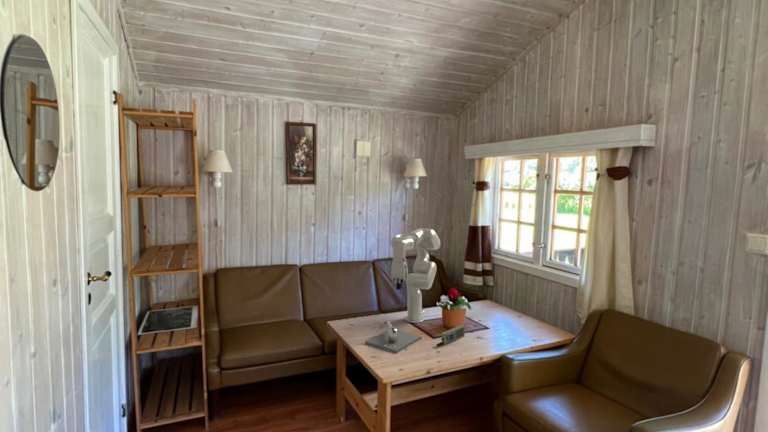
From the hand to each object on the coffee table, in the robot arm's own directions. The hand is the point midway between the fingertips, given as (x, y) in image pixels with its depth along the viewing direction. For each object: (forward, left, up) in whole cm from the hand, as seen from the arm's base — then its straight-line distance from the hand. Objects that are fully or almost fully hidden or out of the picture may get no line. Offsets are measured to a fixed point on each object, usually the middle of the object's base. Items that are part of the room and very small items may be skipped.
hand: (399, 289), depth 263 cm
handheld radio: (-6, +32, -28) cm, 43 cm away
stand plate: (+14, +6, -27) cm, 31 cm away
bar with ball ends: (+14, +4, -25) cm, 29 cm away
